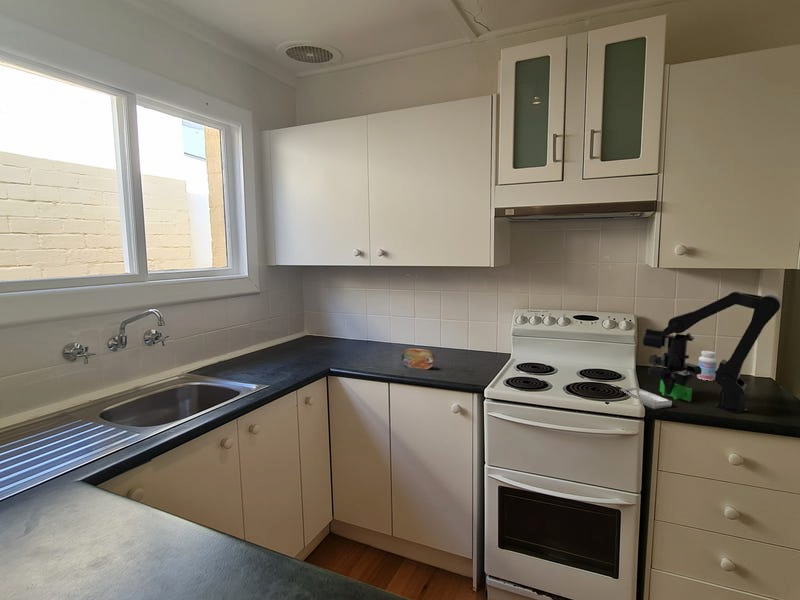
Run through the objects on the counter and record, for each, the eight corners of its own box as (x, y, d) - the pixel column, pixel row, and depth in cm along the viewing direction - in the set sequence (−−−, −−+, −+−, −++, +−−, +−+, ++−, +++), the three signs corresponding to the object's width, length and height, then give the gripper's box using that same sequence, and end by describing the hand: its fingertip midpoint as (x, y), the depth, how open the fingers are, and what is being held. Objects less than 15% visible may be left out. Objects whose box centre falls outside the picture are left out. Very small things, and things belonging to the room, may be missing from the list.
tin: (401, 366, 195) (401, 347, 194) (404, 364, 198) (404, 346, 197) (433, 370, 188) (433, 351, 187) (435, 369, 191) (436, 350, 190)
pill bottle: (699, 380, 177) (701, 353, 176) (695, 376, 183) (697, 349, 181) (716, 382, 175) (719, 354, 174) (712, 377, 181) (715, 351, 179)
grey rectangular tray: (671, 406, 148) (671, 400, 148) (654, 409, 145) (654, 403, 145) (635, 392, 162) (636, 387, 161) (619, 394, 159) (620, 389, 159)
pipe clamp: (654, 392, 162) (655, 380, 162) (661, 391, 164) (662, 379, 163) (683, 402, 152) (684, 389, 151) (691, 401, 153) (692, 388, 153)
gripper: (675, 344, 166) (672, 384, 168) (637, 347, 160) (634, 389, 162) (704, 351, 155) (700, 394, 157) (664, 355, 150) (660, 399, 152)
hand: (672, 393), depth 157 cm, fingers closed on pipe clamp, 4 cm apart
